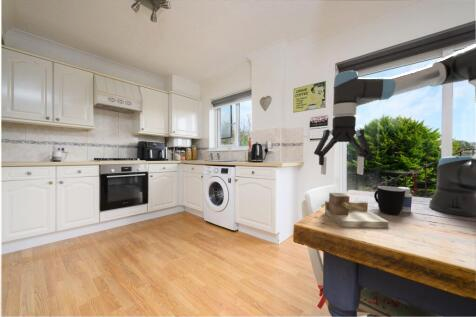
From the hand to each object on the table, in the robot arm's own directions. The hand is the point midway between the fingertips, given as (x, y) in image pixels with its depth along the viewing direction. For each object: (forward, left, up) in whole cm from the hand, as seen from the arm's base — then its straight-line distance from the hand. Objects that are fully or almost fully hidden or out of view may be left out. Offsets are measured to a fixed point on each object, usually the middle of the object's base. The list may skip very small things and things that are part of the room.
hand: (341, 174), depth 75 cm
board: (-4, +2, -17) cm, 17 cm away
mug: (-23, -8, -17) cm, 30 cm away
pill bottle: (-31, -10, -17) cm, 37 cm away
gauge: (+1, +3, -15) cm, 15 cm away
